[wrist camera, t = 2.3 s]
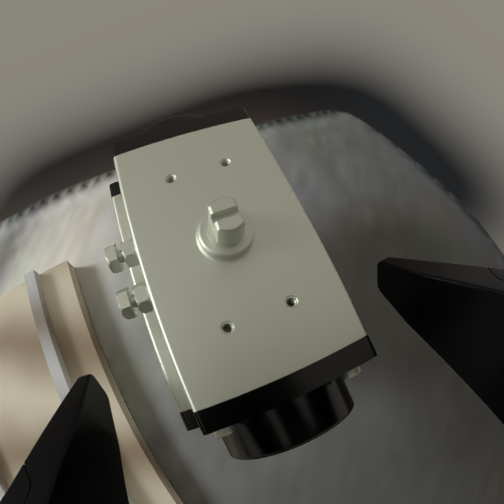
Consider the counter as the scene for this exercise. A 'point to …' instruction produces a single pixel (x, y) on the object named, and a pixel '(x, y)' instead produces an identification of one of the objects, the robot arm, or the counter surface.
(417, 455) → the counter surface
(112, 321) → the counter surface
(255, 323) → the pneumatic valve
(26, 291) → the mounting panel
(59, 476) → the robot arm
